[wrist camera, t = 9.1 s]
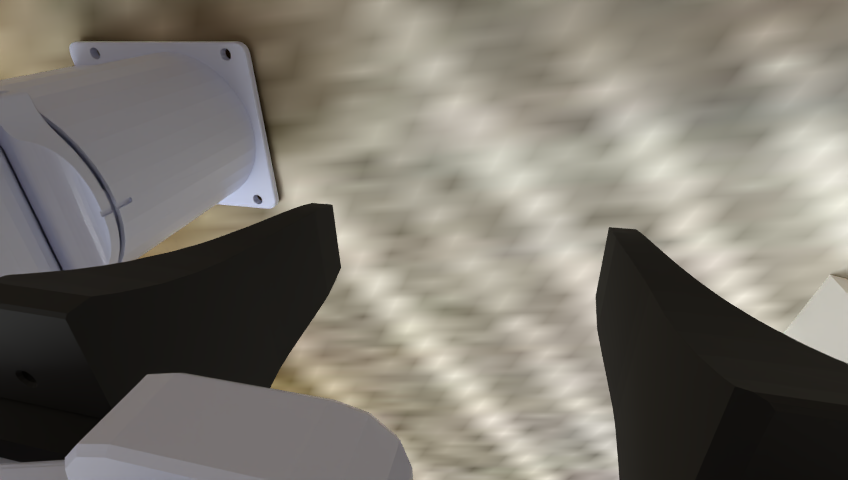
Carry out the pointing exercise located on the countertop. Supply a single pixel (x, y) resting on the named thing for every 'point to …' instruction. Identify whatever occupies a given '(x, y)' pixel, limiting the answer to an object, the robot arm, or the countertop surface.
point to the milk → (825, 320)
